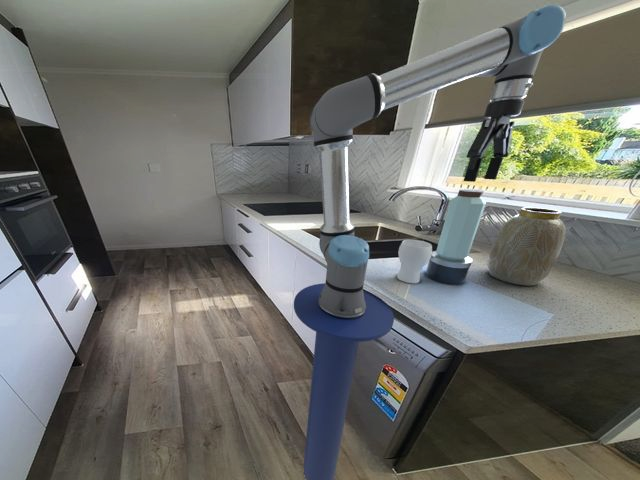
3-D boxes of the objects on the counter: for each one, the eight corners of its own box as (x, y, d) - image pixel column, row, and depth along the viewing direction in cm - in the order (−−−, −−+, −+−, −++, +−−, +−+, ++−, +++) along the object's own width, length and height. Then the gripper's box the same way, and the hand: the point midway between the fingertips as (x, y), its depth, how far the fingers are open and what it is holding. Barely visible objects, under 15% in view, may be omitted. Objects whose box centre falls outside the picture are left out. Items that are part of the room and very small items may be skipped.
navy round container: (418, 274, 100) (423, 254, 97) (436, 267, 106) (442, 248, 102) (453, 288, 89) (461, 266, 86) (471, 280, 95) (479, 258, 91)
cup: (387, 275, 100) (394, 240, 94) (406, 271, 103) (415, 237, 97) (409, 287, 91) (418, 250, 85) (430, 282, 94) (441, 246, 88)
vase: (550, 280, 93) (585, 211, 83) (535, 293, 85) (572, 218, 75) (492, 265, 107) (516, 203, 97) (475, 274, 99) (499, 209, 89)
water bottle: (470, 263, 88) (494, 193, 78) (436, 258, 92) (456, 191, 83) (464, 254, 96) (486, 189, 86) (434, 250, 100) (451, 188, 91)
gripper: (504, 93, 59) (475, 183, 67) (541, 102, 70) (512, 179, 78) (468, 99, 65) (445, 181, 73) (507, 106, 76) (483, 177, 84)
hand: (479, 180), depth 75 cm, fingers open, 13 cm apart
